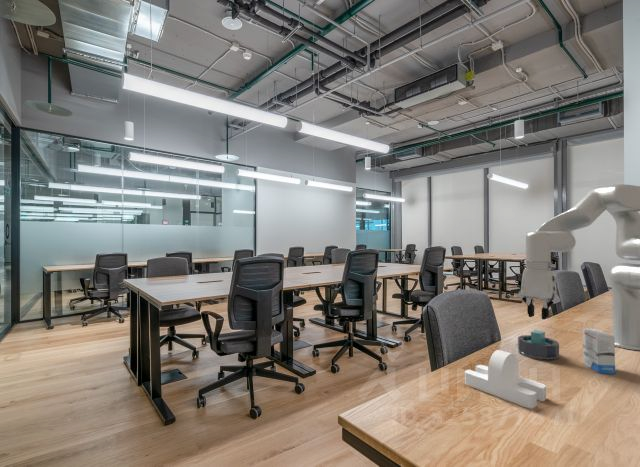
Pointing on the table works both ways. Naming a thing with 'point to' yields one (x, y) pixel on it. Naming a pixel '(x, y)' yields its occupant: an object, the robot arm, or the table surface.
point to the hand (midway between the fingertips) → (537, 317)
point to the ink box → (599, 350)
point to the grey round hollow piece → (538, 348)
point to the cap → (538, 337)
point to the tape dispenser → (505, 380)
